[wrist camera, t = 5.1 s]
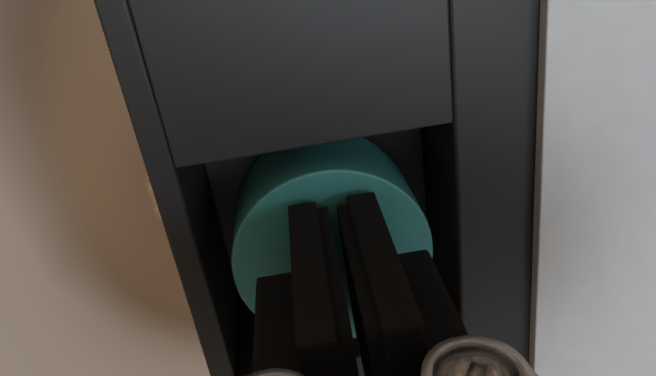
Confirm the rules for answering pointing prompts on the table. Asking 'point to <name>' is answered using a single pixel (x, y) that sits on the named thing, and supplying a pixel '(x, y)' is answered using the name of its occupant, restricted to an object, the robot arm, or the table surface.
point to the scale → (420, 151)
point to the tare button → (317, 206)
